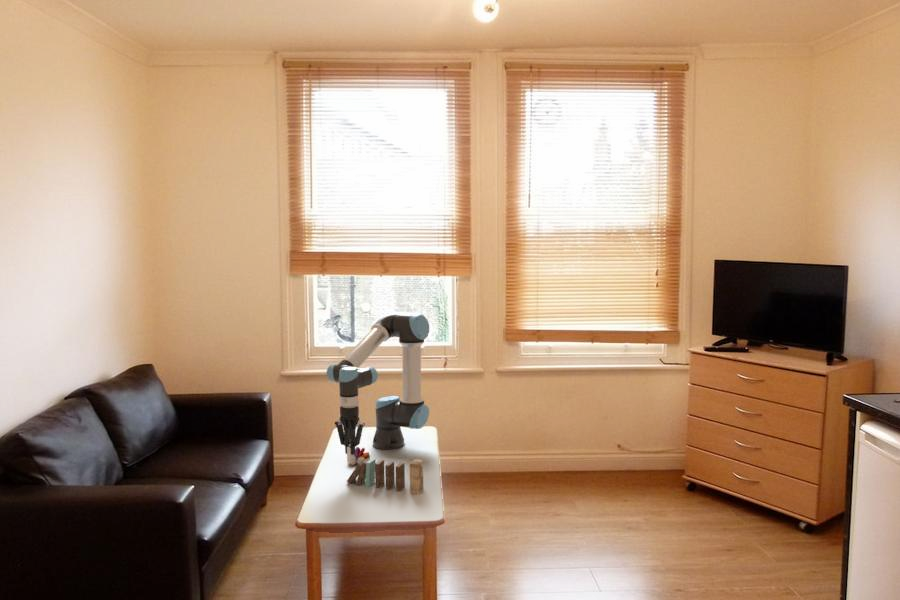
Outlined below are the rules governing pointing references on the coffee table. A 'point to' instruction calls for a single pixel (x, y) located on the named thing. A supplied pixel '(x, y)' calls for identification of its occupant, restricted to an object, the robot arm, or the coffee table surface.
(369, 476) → the teal domino
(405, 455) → the coffee table surface
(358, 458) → the colorful disc cluster
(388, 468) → the domino
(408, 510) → the coffee table surface
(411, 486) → the end block
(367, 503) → the coffee table surface
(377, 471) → the domino
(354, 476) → the domino
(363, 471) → the domino
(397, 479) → the domino
